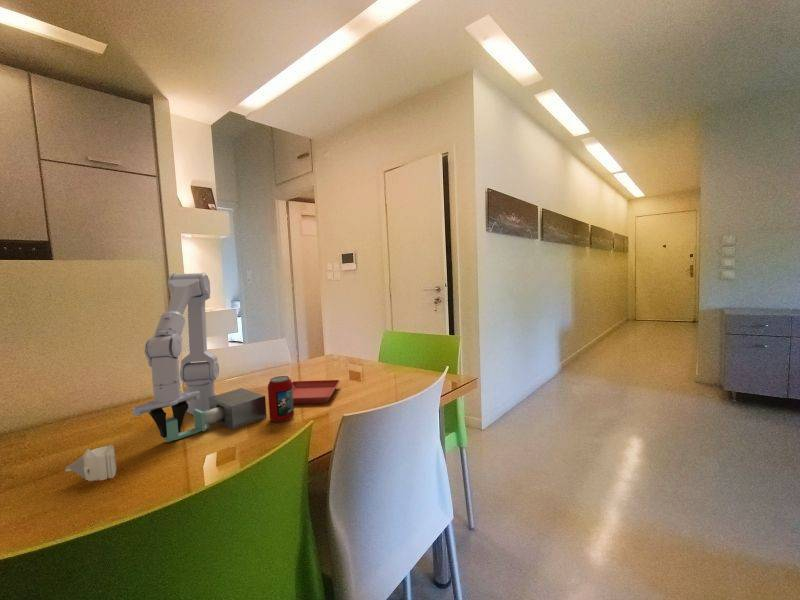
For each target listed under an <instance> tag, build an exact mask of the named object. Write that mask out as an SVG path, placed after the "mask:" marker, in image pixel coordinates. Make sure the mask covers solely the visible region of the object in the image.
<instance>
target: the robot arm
mask: <svg viewBox="0 0 800 600" xmlns="http://www.w3.org/2000/svg"><path fill="white" fill-rule="evenodd" d="M209 278H210V277H209V276H208V274H207V273H205V272H201V273H200V272H199V273H197V272H196V273H194V272H193V273H171V274H170V275H169V276H168V279H167V286H168V287H167V288H168V290H169V294H170V298H169V304H168V307H167V308H168V309H167V311H166V312H164V313H163V314H161V315H160V318H159V321H158V323H157V326H156V329H155V333H154V334H153V336H152V337H150V338H149V339H147V340H146V342H145V346H144V355H145V357H146V359H147V362H148V363H147V364H148V366H149V367H151V377H152V378H151V379H152V389H153V400H151V401H147V402H145V403H142V404H139V405H136V406H133V407H131V408H132V416H134V417H135V418H136V417H140V416H141V415H143V414H147V413H148V414H149V416H150V417H151V418H152V419H153V421H154V422H155V424H156V426H157V428H158V430H159V433H160V437H162V438H165V437H167V431H166V419H167V412H166V411H165V410H164V409H166V408H170V407H171V410H172V417H174V418H176V419H177V421H178V434H179V433H182V431H181V430H182V425H183V421H184V418H185V416H186V413H188V414H191V415H192V416H194V411H193V409H198V410H201V411H203V412H204V411H207V410H210V406H209V397H212V396H215V395H216V394H215V393H216V392H215V382H214V381H216V380H217V379H218V377H219V374H220V365H219V363H218V357H217V356H216V354H214V353H211V352H209V351H208V345H207V343H208V342H207V321H206V301H207V300H209V299H210V298H211V282H210V279H209ZM186 308H187V323H188V324H187V325H188V346H189V347H188V350H189V353H188V354H187V355H186V356H184V358H183V359H181V362H180V365H179V357H180V356H181V353H182V349H183V348H182V347H183V346H182V345H183V344H182V343H183V337H182V334H183V333H182V332H183V330H184V326H185V324H186V318H185V317H184V312H185V310H186ZM179 366H180V367H179ZM181 382H182V383H184V384H185V388H184V393H181V392H182V391H181V389H182V388H181Z"/></svg>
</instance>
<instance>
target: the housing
mask: <svg viewBox="0 0 800 600" xmlns="http://www.w3.org/2000/svg"><path fill="white" fill-rule="evenodd" d="M209 406H210V409H214V408H217V407H220V406H222V407H224V419H221V420H218V421H216V423H219V424H221V425H223V426H225V427H227V428H229V429H231V430H236V429H239V428H241V427H244V426H247V425H250V424H252V423H254V422H258V421H260V420H263V419H265V418H267V402H266V395H264V394H261V393H258V392H255V391H251V390H248V389H245V388H237V389H234V390H229V391H226V392H224V393H219V394H215V396H212V397H209ZM257 420H258V421H257Z"/></svg>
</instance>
